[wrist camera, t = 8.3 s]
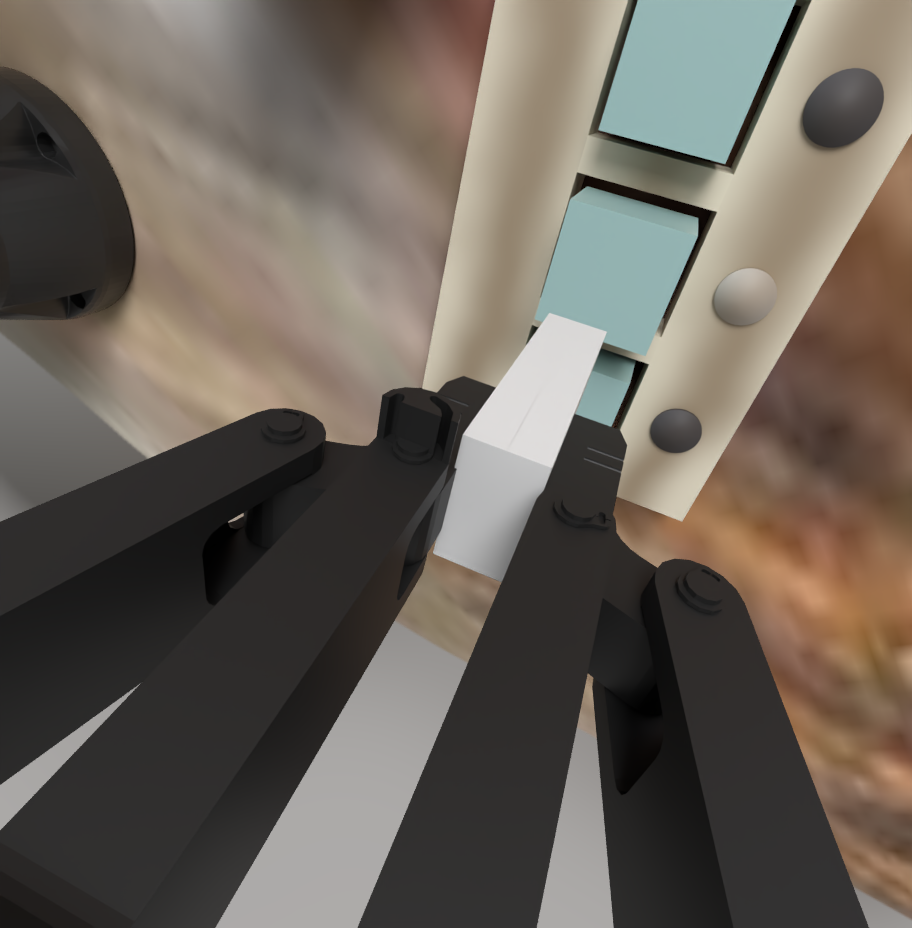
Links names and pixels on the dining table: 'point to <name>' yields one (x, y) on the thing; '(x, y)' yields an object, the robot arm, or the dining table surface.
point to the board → (679, 178)
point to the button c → (692, 72)
